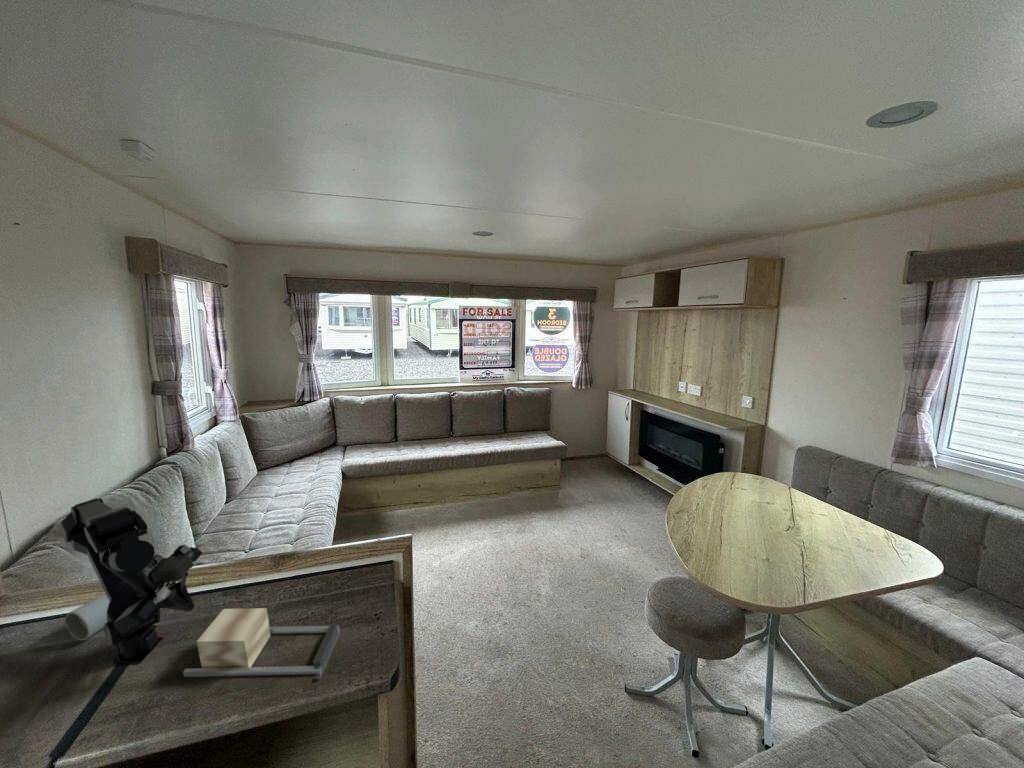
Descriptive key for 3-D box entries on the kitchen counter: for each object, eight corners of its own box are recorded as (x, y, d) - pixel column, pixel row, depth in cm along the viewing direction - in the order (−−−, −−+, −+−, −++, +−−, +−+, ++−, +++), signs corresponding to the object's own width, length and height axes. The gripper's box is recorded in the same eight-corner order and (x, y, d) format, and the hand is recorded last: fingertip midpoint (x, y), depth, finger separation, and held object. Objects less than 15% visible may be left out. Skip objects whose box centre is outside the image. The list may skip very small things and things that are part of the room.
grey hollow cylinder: (129, 616, 104) (123, 591, 102) (91, 643, 96) (83, 617, 94) (97, 609, 106) (90, 585, 104) (58, 635, 98) (49, 609, 96)
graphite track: (183, 683, 87) (180, 668, 86) (221, 634, 99) (218, 621, 98) (319, 680, 89) (318, 665, 88) (340, 632, 101) (339, 619, 100)
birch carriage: (202, 670, 89) (196, 641, 87) (228, 636, 97) (223, 608, 95) (249, 669, 89) (244, 640, 87) (270, 635, 98) (266, 608, 96)
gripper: (126, 585, 75) (191, 632, 81) (193, 518, 93) (242, 561, 98) (83, 610, 77) (150, 655, 82) (157, 540, 94) (208, 581, 99)
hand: (192, 609), depth 90 cm, fingers closed
